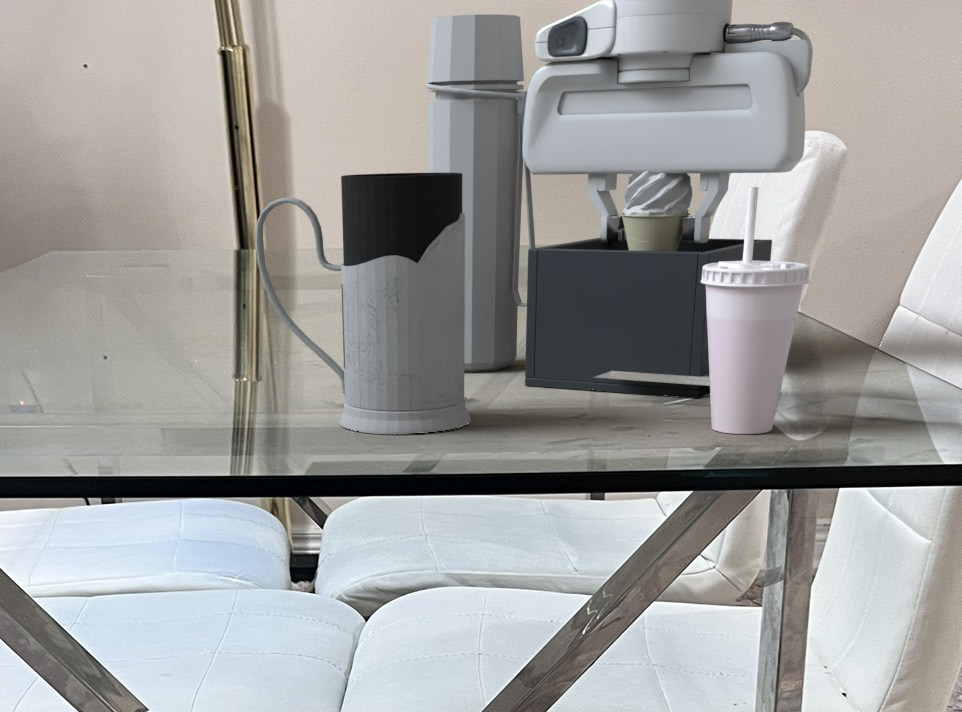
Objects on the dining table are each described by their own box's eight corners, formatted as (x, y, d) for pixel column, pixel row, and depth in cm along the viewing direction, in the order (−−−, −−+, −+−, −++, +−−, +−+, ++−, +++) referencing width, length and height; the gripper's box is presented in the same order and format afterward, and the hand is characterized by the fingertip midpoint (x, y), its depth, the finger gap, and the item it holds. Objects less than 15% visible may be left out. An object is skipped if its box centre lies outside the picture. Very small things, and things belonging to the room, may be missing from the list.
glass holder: (452, 436, 87) (453, 175, 81) (241, 428, 91) (226, 178, 85) (484, 412, 95) (487, 171, 89) (288, 405, 99) (277, 174, 93)
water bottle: (408, 369, 113) (404, 18, 103) (459, 357, 119) (461, 23, 108) (507, 378, 108) (514, 10, 98) (555, 364, 114) (567, 16, 104)
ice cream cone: (676, 334, 102) (692, 106, 96) (608, 332, 104) (619, 108, 98) (687, 326, 106) (703, 107, 100) (621, 324, 108) (633, 109, 102)
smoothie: (714, 415, 92) (732, 185, 86) (809, 424, 89) (835, 184, 83) (673, 432, 87) (689, 189, 82) (772, 442, 84) (796, 189, 78)
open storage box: (760, 371, 109) (772, 239, 105) (698, 398, 98) (709, 253, 94) (598, 361, 115) (604, 236, 111) (524, 385, 105) (527, 248, 101)
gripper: (829, 21, 94) (807, 241, 100) (552, 38, 104) (547, 237, 110) (801, 16, 89) (780, 247, 95) (514, 34, 99) (510, 243, 105)
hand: (653, 242), depth 103 cm, fingers closed on ice cream cone, 5 cm apart
